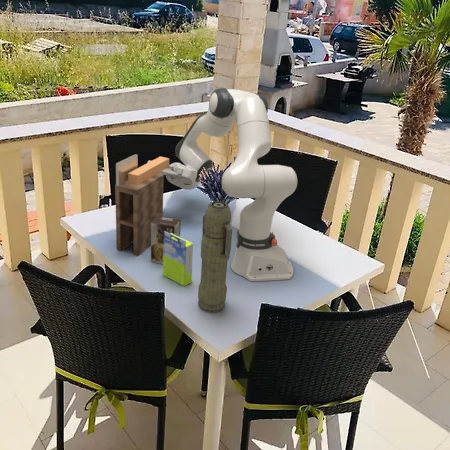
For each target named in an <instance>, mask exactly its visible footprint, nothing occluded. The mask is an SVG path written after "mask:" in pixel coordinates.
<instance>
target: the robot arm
mask: <svg viewBox="0 0 450 450" xmlns="http://www.w3.org/2000/svg"><path fill="white" fill-rule="evenodd" d="M268 111H269V102H268V100H267V98H266V96H264V95H262V94H260V93H258V92H256V93H254V92H250V91H246V90H242V89H235V88H234V89H233V88H230V89H229V88H225V87H221V88H216V89H214V90H213V92H211V94H210V96H209V102H208V110H207V112H206V113H202V114H200V115H198V116H197V117H196V119H195V120H194V121H193V122H192V124H191V125H190V127H189V129H187V131H186V133H185V134H184V135H183V137H182V139H181V140H180V141H179V142H178V143H177V144H176V146H175V152H174V153H175V156H176V157H177V158H178V159H179V160H180V161H181V162H182V163H183V164H182V163H180V162H173V163H171V164H169V167H168V168H167V169H165V170H163V171H161V172H160V173H158V174H162V175H164V176H165V177H166V180H167V181H168V182H170V184H172V185H174V186H177V187H179V188H180V189H182V190H183V189H184V190H186V191H187V190H188V191H192V190H195V189H196V188H198V186H199V185H200V183H201V181H200V178H199V176H198V175H199V174H200V172H201V171H202V168H203V167H205V168H206V169H211V170H213V167H214V163H213V160H212V159H211V157H209V156H208V154H207V153H205V151H204V150H203V149H202V148H201V147H200V145H199V144H198V142H197V140H198V139H199V137H200V136H201V135H202V133H203V134H206V135H208V136H210V137H215V138H220V137H224V136H226V135H228V133H229V132H230V131H231V129H232V128H233V126H234V123H235V122H236V129H237V138H238V139H237V140H238V152H237V155H236V158H235V160H234V161H233V162H232V164H231V165H230V166H228V168H226V169H225V171H224V172H223V174H222V177H221V187H222V189H223V191H224V193H225V194H226V196H228V197H231V198H238V199H254V200H253V201H252V202H251V203H249V204H247V205H245V206H244V207H243V208H242V210H241V211H240V213H239V223H238V224H239V225H238V230H237V232H236V236H235V237H236V238H235V240H236V241H235V245H236V248H235V253H234V256H233V259H232V261H231V262H230V268H231V270H232V271H233V272H234V273H235V274H237V275H239V276H241V277H244V278H245V279H246V280H247V281H249V282H266V281H268V282H269V281H281V280H284V281H285V280H291V279H292V278H293V276H294V268H293V265H292V262H291V261H290V260H289V259H288V255H287V253H286V251H285V249H284V248H283V247H281V246H280V245H279V244H278V240H277V239H276V235H275V234H274V232H273V231H271V228H272V222H273V217H274V215H275V212H276V211H277V209H278V207H279V206H280V204H282V202H283V201H284V200H285V199H286V198H288V197H290V196H291V195H292V194H293V193H294V192H295V191H296V189H297V188H298V187H297V186H298V177H297V173H296V171H295V170H294V169H293V167H291V166H287V165H281V164H259V163H258V159H260V158H262V157H264V156H265V155H267V154H268V153H269V152H270V150H271V149H272V145H273V144H272V136H271V128H270V120H269V117H268V116H269V115H268ZM151 161H152V160H148V161H147V163H149V162H151ZM147 163H146V164H147Z"/></svg>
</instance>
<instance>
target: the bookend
mask: <svg viewBox="0 0 450 450" xmlns="http://www.w3.org/2000/svg"><path fill="white" fill-rule="evenodd" d="M138 155H139V154H137V153H136V154H132V155H131V156H128V157H127V158H125V159H122V160H120V161H118V162H116V163H115V185H117V186H119V185H121V184H123V183H125V182H127V181H128V173H130V172H132V171H134V170H135V169H137V168H139V167H138V165H139V164H138V161H139V159H138Z"/></svg>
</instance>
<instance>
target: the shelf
mask: <svg viewBox="0 0 450 450" xmlns="http://www.w3.org/2000/svg"><path fill="white" fill-rule="evenodd" d="M164 177H165V175H163V174H159V173H158V174H156V175H154V176H153V177H151V178H149V179H147V180H146V181H144V182H142V183H141V184H139V185H136V184H132V183H128V181H127V182H125V183H123V184H121V185H119V186H117V185H116V184H115V185H114V190H115V191H114V193H115V195H114V196H115V229H116V230H115V235H116V236H115V237H116V250H117V251H120V252H121V251H122V250H124V249H125V248H127V247H128V246H129V245H131V244H132V243H133V256H135V257H138V256H139V255H141V254H143V253H144V252H145V251H146V250H147V249H148V248H151V222H152V221H153V220H154V219H155V217H156V216H157V215H158V216H164V182H165V181H164V180H165V179H164Z"/></svg>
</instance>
